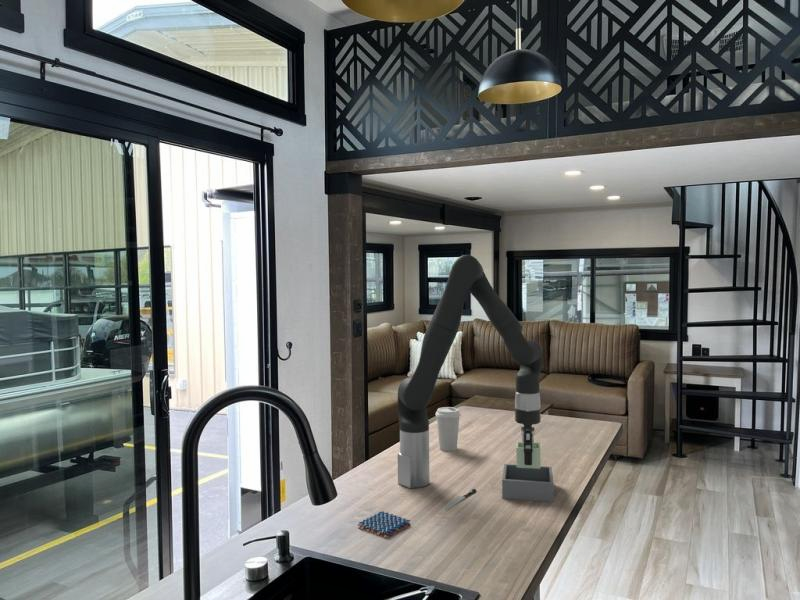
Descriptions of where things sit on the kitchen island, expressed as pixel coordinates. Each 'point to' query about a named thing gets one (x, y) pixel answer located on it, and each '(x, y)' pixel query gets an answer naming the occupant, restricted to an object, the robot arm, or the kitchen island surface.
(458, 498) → the chef's knife
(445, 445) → the coffee cup
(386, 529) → the woven mat
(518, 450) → the sage crate
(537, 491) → the charcoal crate
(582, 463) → the kitchen island surface
